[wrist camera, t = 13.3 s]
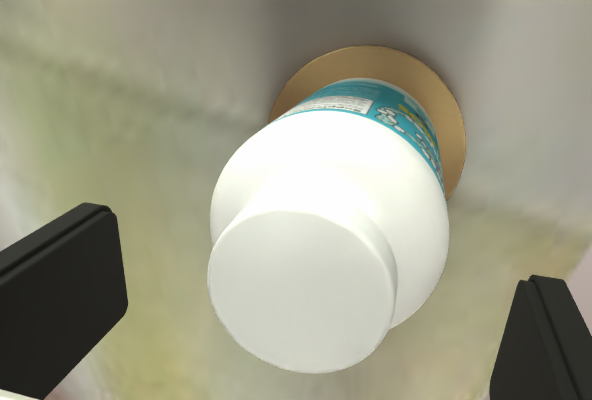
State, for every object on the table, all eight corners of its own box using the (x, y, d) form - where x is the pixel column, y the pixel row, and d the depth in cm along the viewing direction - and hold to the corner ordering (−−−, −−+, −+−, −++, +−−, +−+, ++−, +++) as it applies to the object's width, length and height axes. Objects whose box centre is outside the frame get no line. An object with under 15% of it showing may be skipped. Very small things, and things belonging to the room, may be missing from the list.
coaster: (272, 38, 23) (268, 39, 22) (483, 52, 21) (485, 54, 20) (268, 219, 27) (263, 225, 26) (445, 246, 25) (446, 253, 24)
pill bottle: (443, 213, 23) (467, 431, 11) (303, 222, 25) (195, 412, 13) (432, 61, 21) (447, 129, 9) (278, 85, 23) (118, 166, 11)
